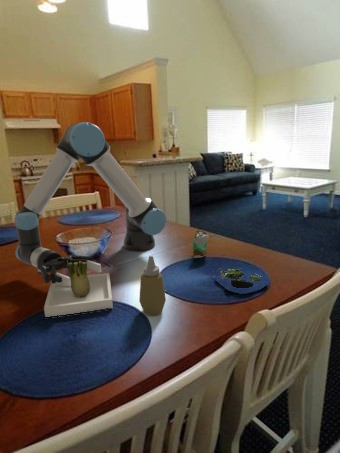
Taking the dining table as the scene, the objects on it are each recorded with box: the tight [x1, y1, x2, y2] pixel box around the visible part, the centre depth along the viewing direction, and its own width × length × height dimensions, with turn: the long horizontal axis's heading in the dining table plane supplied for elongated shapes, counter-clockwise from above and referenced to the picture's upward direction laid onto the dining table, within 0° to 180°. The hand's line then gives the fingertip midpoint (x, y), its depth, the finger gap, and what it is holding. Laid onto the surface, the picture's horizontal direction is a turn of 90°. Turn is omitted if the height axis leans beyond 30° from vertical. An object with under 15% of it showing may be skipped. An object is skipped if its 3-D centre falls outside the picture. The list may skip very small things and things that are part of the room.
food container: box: [192, 229, 210, 257], centre depth 142 cm, size 12×6×10 cm, turn 168°
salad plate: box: [220, 268, 261, 288], centre depth 118 cm, size 19×18×5 cm
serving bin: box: [43, 272, 114, 317], centre depth 108 cm, size 20×20×4 cm
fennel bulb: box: [67, 261, 90, 297], centre depth 107 cm, size 6×5×12 cm
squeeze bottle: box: [138, 255, 167, 316], centre depth 97 cm, size 8×8×18 cm
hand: (85, 274), depth 103 cm, fingers open, 11 cm apart
